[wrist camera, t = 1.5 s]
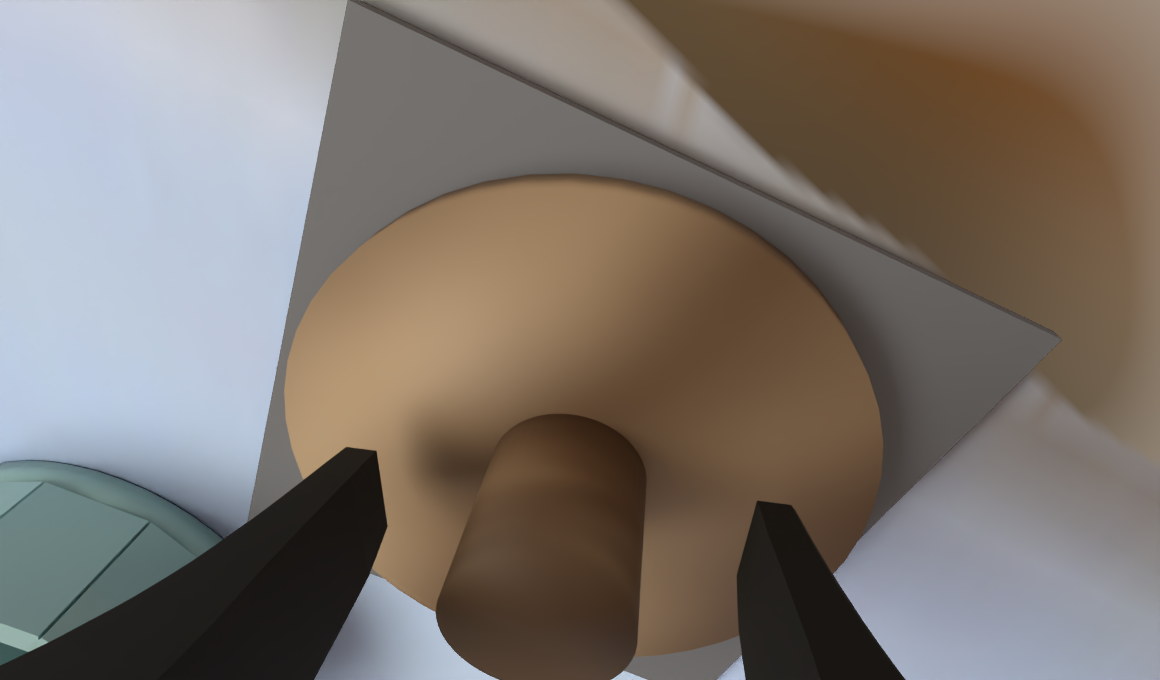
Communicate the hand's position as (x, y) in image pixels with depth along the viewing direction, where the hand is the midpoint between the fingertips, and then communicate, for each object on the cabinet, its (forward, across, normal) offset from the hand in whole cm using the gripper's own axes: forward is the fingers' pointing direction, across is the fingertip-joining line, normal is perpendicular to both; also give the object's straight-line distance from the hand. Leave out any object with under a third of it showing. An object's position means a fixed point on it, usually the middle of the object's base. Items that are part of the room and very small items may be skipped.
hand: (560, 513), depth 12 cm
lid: (+2, 0, 0) cm, 2 cm away
